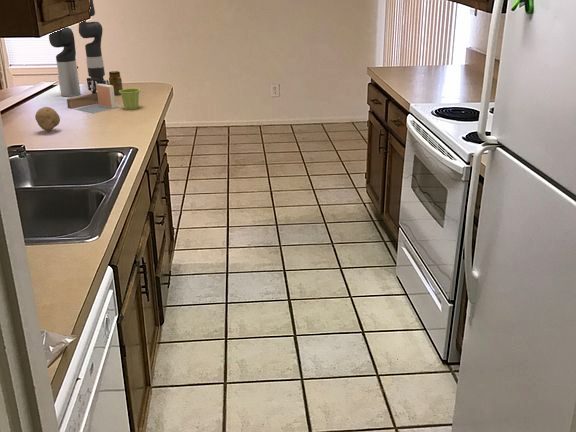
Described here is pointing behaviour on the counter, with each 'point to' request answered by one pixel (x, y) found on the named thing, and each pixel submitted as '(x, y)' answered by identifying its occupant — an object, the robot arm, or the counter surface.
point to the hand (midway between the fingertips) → (100, 100)
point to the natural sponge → (47, 118)
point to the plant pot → (130, 98)
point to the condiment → (115, 82)
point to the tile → (106, 95)
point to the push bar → (82, 100)
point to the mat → (94, 109)
